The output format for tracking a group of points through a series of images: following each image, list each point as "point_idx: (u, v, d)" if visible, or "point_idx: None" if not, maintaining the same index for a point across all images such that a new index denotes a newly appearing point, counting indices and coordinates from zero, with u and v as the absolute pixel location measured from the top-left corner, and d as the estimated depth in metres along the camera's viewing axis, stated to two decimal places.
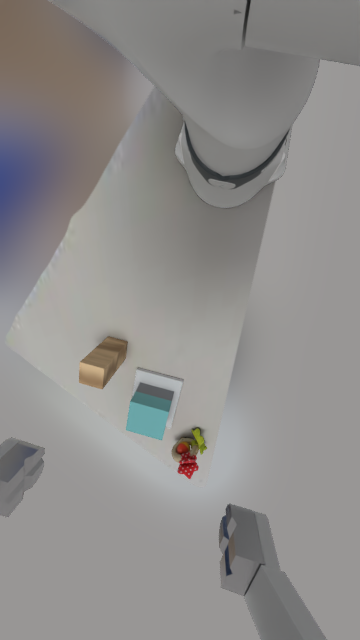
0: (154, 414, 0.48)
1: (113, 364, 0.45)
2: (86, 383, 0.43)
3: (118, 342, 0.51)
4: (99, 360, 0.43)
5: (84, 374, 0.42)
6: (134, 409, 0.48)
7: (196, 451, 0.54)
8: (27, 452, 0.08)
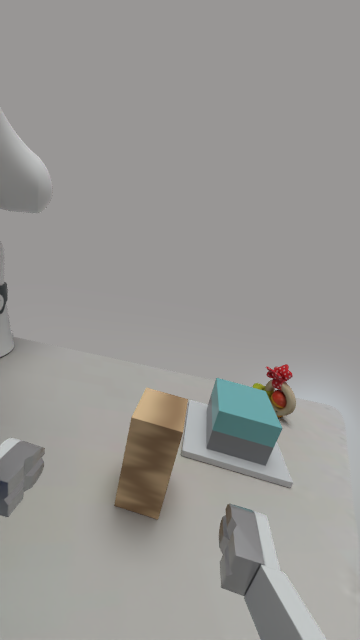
0: (227, 390, 0.36)
1: None
2: (181, 419, 0.21)
3: None
4: None
5: (159, 417, 0.21)
6: (231, 408, 0.31)
7: None
8: (27, 452, 0.08)
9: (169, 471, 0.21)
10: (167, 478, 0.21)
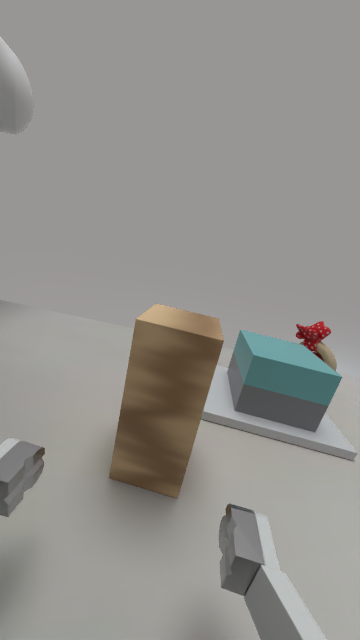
0: (257, 339, 0.28)
1: None
2: (216, 330, 0.13)
3: None
4: None
5: (181, 324, 0.13)
6: (268, 354, 0.23)
7: None
8: (27, 452, 0.08)
9: (198, 415, 0.13)
10: (194, 427, 0.13)
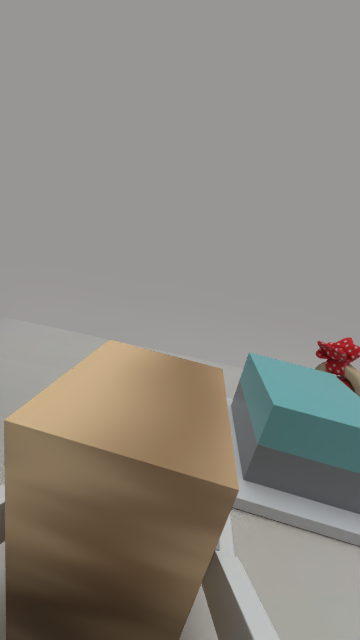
0: (273, 370, 0.20)
1: None
2: (217, 425, 0.06)
3: None
4: None
5: (134, 418, 0.05)
6: (294, 401, 0.16)
7: None
8: None
9: (174, 626, 0.06)
10: None
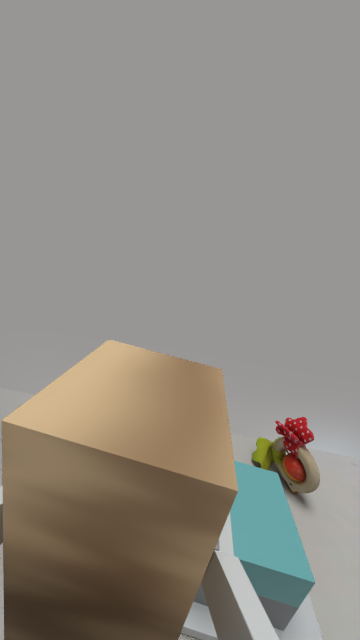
0: None
1: None
2: (216, 426, 0.06)
3: None
4: None
5: (133, 418, 0.05)
6: None
7: None
8: None
9: (173, 628, 0.05)
10: None
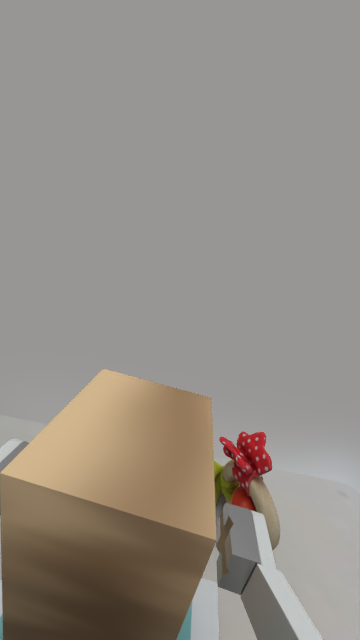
0: None
1: None
2: (201, 466, 0.06)
3: None
4: None
5: (123, 462, 0.06)
6: None
7: (228, 463, 0.24)
8: None
9: None
10: None
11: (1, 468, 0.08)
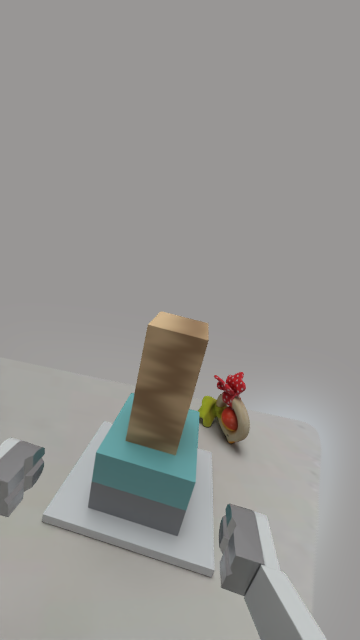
0: None
1: None
2: (204, 332, 0.18)
3: None
4: None
5: (179, 328, 0.18)
6: (121, 446, 0.20)
7: None
8: (27, 452, 0.08)
9: (190, 392, 0.18)
10: (188, 402, 0.18)
11: None
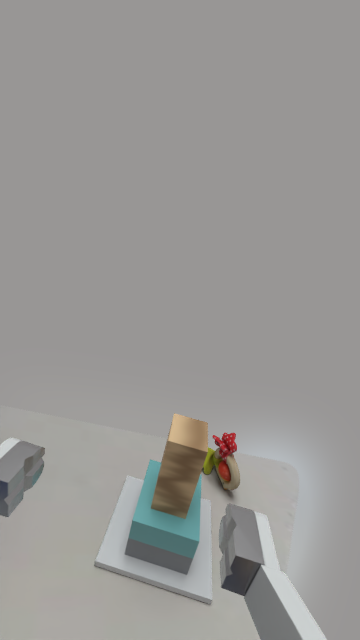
0: (156, 480, 0.33)
1: None
2: (204, 440, 0.27)
3: None
4: (168, 436, 0.30)
5: (188, 439, 0.27)
6: (148, 514, 0.29)
7: (217, 449, 0.45)
8: (27, 452, 0.08)
9: (196, 481, 0.27)
10: (194, 486, 0.28)
11: None
